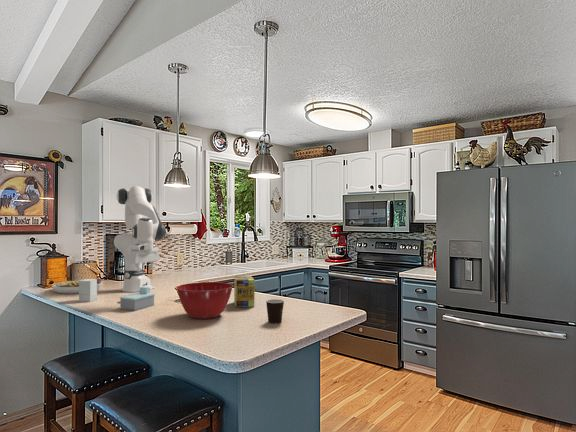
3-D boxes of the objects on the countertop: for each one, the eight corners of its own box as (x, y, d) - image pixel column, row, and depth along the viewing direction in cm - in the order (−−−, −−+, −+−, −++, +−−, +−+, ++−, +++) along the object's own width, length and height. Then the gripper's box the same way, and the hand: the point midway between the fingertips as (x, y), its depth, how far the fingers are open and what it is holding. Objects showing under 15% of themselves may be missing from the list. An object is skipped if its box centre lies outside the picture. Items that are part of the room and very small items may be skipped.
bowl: (49, 296, 249) (49, 284, 249) (55, 288, 276) (55, 277, 277) (101, 293, 261) (101, 281, 261) (102, 285, 289) (102, 275, 289)
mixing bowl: (172, 312, 208) (172, 283, 208) (225, 307, 219) (225, 280, 220) (180, 325, 182) (180, 292, 182) (239, 319, 193) (239, 288, 194)
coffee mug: (277, 325, 184) (277, 303, 184) (262, 322, 189) (262, 301, 189) (290, 319, 194) (290, 299, 194) (275, 317, 198) (276, 297, 199)
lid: (140, 293, 228) (140, 286, 228) (154, 294, 224) (154, 287, 224) (119, 298, 213) (119, 290, 213) (134, 300, 209) (134, 292, 209)
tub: (140, 303, 227) (140, 293, 227) (154, 305, 224) (154, 294, 224) (120, 309, 213) (120, 298, 214) (134, 311, 210) (134, 299, 210)
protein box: (236, 308, 219) (236, 280, 219) (234, 302, 234) (234, 276, 234) (254, 307, 221) (254, 279, 221) (251, 301, 236) (251, 275, 236)
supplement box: (97, 299, 239) (97, 278, 239) (90, 302, 231) (90, 280, 231) (85, 299, 239) (86, 278, 240) (78, 301, 232) (78, 280, 232)
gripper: (153, 245, 235) (153, 268, 234) (127, 247, 216) (127, 272, 216) (161, 245, 232) (161, 268, 232) (136, 247, 213) (136, 272, 213)
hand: (144, 270), depth 224 cm, fingers open, 8 cm apart
